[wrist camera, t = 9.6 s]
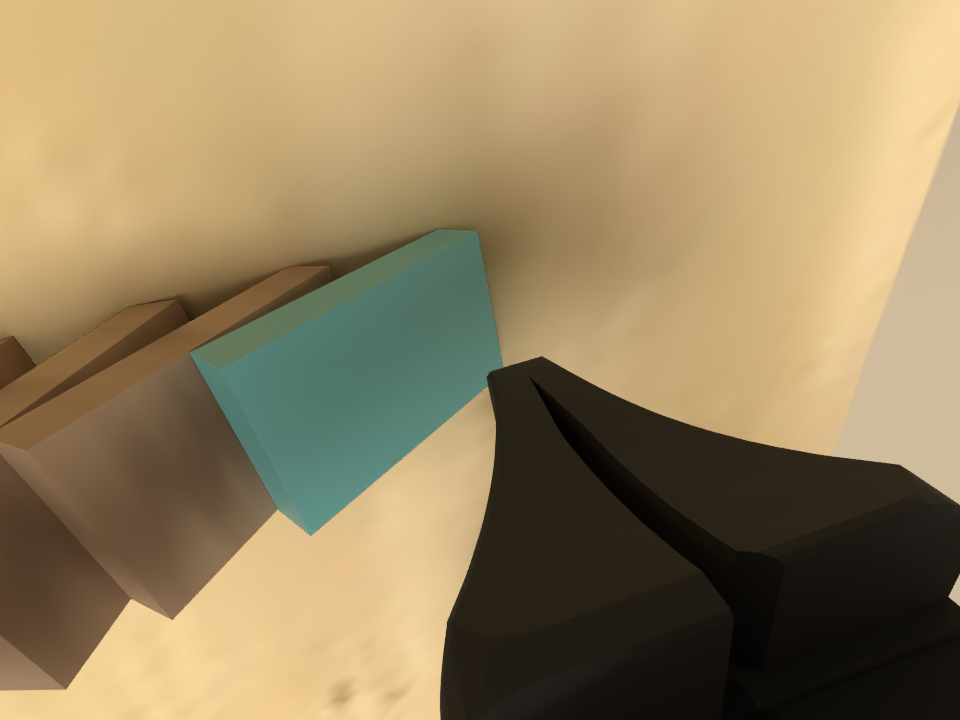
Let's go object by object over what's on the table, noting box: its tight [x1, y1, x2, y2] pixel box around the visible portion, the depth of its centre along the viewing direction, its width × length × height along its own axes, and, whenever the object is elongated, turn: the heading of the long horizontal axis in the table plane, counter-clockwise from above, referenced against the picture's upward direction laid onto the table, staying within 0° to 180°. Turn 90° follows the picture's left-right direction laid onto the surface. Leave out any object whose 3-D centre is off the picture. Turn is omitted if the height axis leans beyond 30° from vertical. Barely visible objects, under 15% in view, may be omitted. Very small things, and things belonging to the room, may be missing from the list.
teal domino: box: [190, 228, 503, 536], centre depth 14 cm, size 5×2×8 cm
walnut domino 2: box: [0, 266, 334, 620], centre depth 13 cm, size 5×2×8 cm
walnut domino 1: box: [0, 299, 190, 690], centre depth 12 cm, size 5×2×8 cm, turn 10°
